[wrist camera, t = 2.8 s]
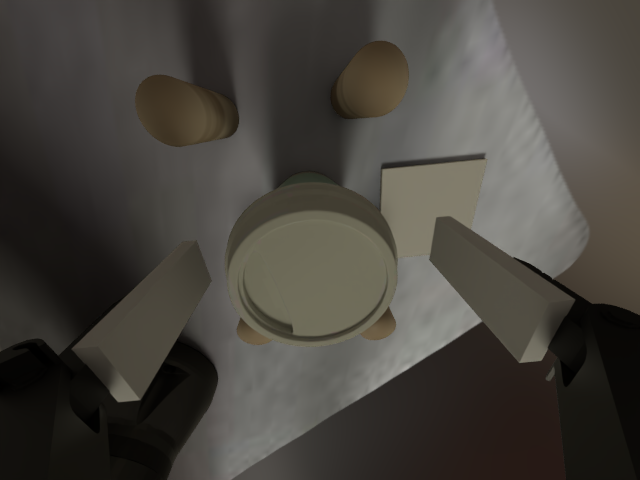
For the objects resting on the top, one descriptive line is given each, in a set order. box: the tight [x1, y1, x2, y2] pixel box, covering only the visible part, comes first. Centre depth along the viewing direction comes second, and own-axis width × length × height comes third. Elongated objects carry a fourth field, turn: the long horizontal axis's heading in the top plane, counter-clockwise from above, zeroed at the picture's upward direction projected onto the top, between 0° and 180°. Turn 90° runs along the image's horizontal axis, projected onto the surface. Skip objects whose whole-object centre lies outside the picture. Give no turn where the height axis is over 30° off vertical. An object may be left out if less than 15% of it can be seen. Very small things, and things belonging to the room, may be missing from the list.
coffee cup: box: [225, 171, 398, 347], centre depth 15 cm, size 8×8×12 cm
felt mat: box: [380, 159, 487, 258], centre depth 22 cm, size 9×9×1 cm
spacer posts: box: [135, 41, 409, 345], centre depth 18 cm, size 14×20×7 cm
